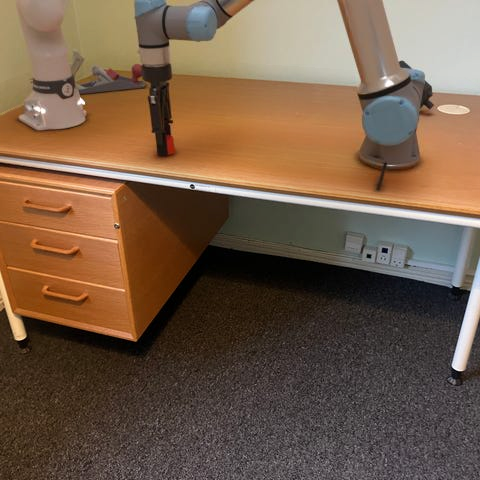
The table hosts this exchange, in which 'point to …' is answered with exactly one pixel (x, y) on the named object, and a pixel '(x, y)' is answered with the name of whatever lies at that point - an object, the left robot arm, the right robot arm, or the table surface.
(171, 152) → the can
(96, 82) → the hand plane
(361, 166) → the table surface
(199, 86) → the table surface
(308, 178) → the table surface
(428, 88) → the tool
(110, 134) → the table surface
